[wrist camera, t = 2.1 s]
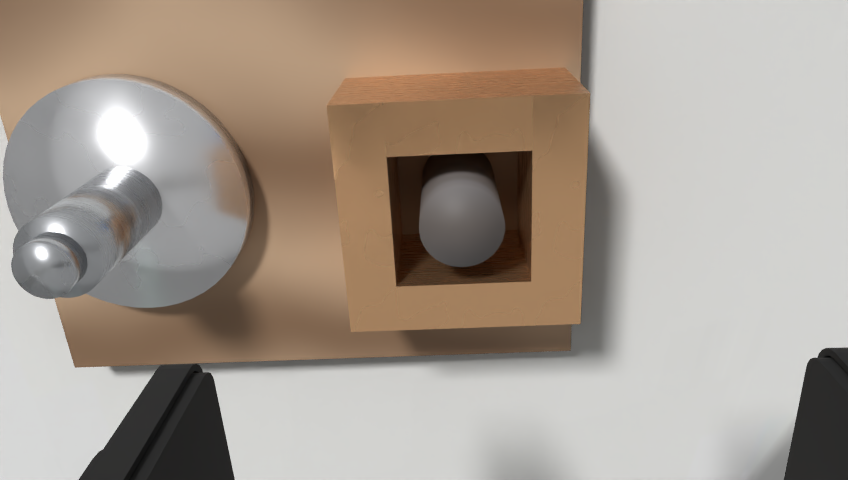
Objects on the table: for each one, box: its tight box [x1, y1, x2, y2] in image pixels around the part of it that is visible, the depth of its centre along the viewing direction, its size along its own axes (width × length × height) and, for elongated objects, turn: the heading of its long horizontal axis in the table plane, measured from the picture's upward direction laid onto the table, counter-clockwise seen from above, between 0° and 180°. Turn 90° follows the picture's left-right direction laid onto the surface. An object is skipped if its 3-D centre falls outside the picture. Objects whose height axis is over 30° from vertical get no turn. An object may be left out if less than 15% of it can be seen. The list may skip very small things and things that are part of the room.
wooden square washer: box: [326, 67, 590, 332], centre depth 22 cm, size 7×7×4 cm
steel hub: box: [3, 74, 254, 308], centre depth 21 cm, size 8×8×6 cm
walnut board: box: [0, 0, 583, 367], centre depth 22 cm, size 14×19×6 cm
